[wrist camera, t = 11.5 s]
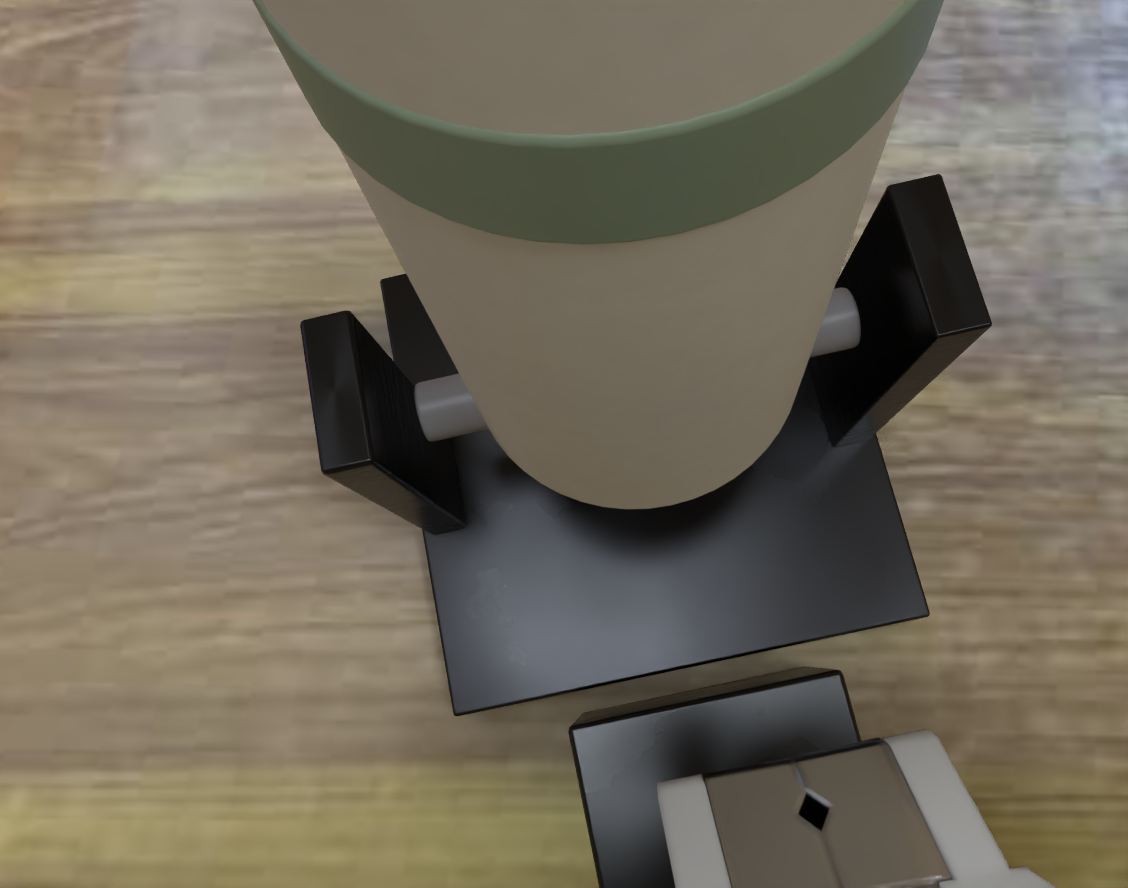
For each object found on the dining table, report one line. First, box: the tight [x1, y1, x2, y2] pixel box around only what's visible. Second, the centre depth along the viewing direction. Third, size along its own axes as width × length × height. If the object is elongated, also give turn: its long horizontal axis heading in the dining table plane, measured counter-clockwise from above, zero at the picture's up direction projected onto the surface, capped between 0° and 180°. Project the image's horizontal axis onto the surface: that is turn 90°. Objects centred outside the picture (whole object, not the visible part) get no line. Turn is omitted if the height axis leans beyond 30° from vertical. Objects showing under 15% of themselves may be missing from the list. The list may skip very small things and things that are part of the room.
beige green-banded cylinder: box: [253, 0, 944, 509], centre depth 10 cm, size 12×7×5 cm
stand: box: [300, 174, 992, 888], centre depth 16 cm, size 14×10×8 cm
